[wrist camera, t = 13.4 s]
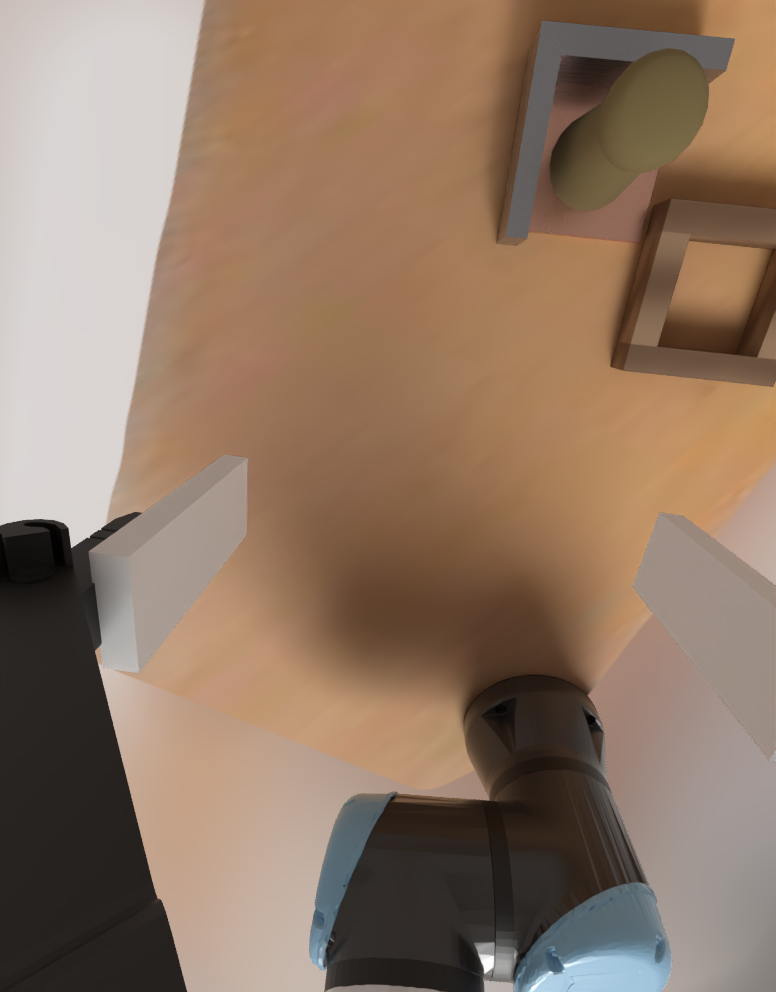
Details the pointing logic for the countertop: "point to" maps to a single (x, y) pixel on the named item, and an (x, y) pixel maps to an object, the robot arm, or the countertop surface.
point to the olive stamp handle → (631, 129)
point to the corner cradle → (564, 98)
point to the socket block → (771, 326)
